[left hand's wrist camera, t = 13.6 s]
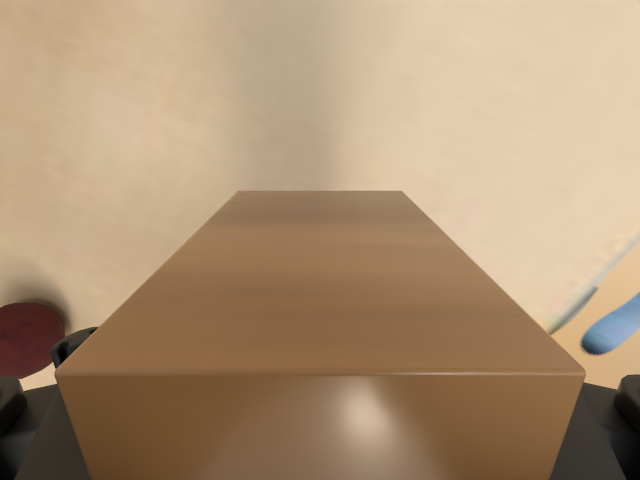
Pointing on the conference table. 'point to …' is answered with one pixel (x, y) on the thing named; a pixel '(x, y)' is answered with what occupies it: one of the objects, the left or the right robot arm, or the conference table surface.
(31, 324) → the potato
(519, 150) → the conference table surface
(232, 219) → the box
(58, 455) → the left robot arm
